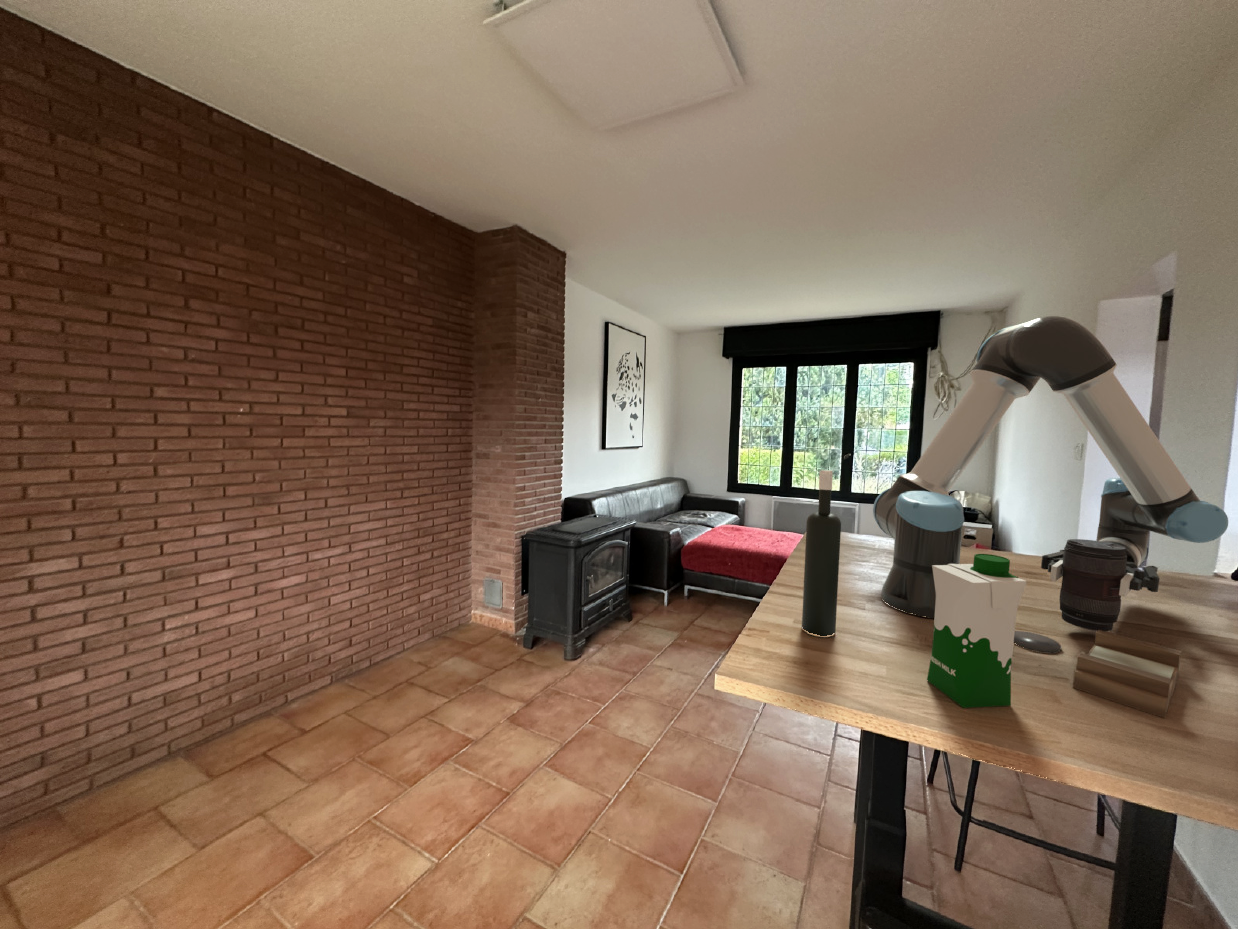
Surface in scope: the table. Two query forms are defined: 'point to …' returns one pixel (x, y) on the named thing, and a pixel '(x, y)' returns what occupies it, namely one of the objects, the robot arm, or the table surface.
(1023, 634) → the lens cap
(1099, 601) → the camera lens
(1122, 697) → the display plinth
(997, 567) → the milk carton
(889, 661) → the table surface
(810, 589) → the wine bottle
